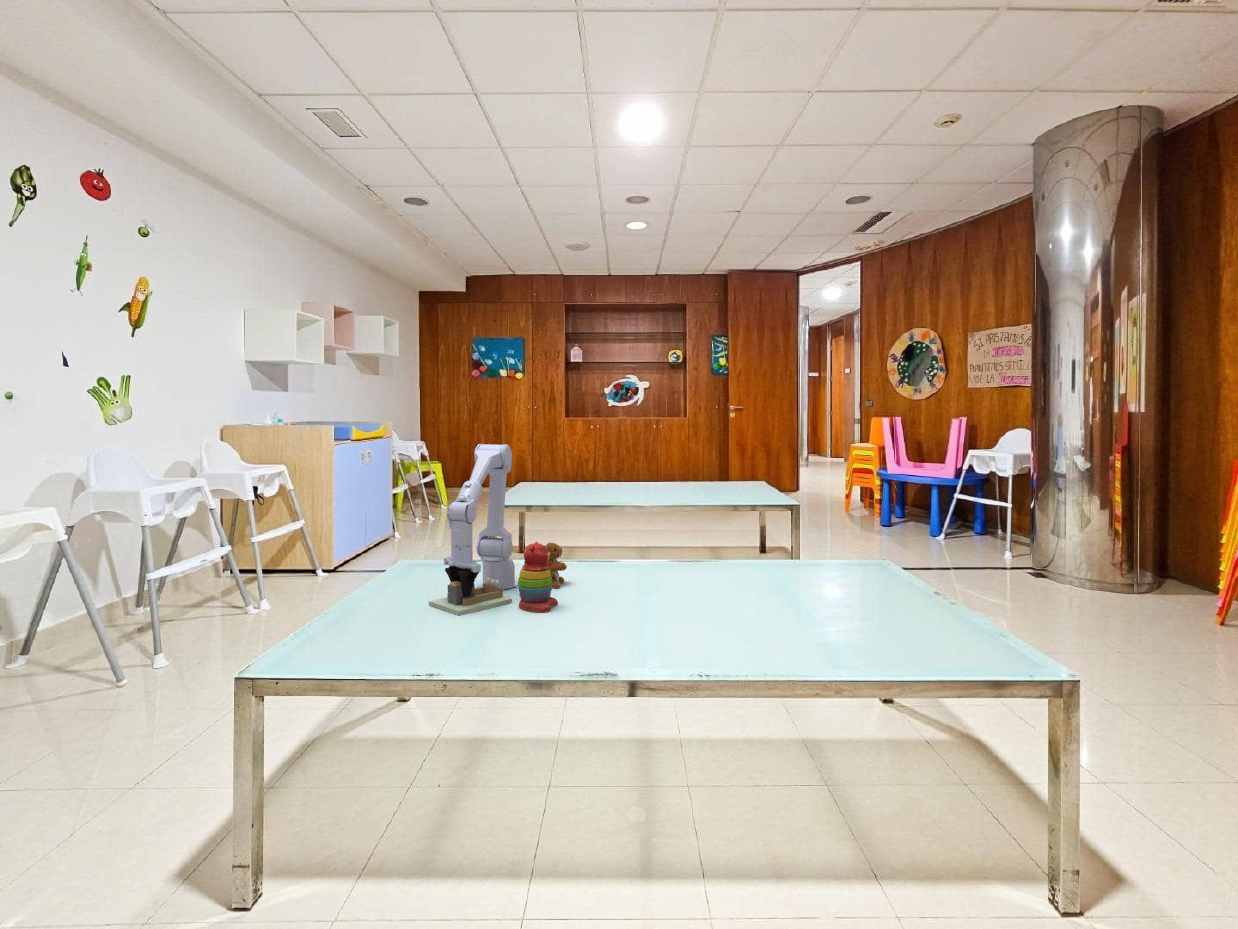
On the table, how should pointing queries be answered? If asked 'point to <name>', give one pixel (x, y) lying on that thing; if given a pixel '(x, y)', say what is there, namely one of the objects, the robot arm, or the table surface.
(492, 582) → the board
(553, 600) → the stacking bear
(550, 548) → the brown teddy bear
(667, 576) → the table surface
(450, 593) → the plug block
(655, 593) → the table surface
